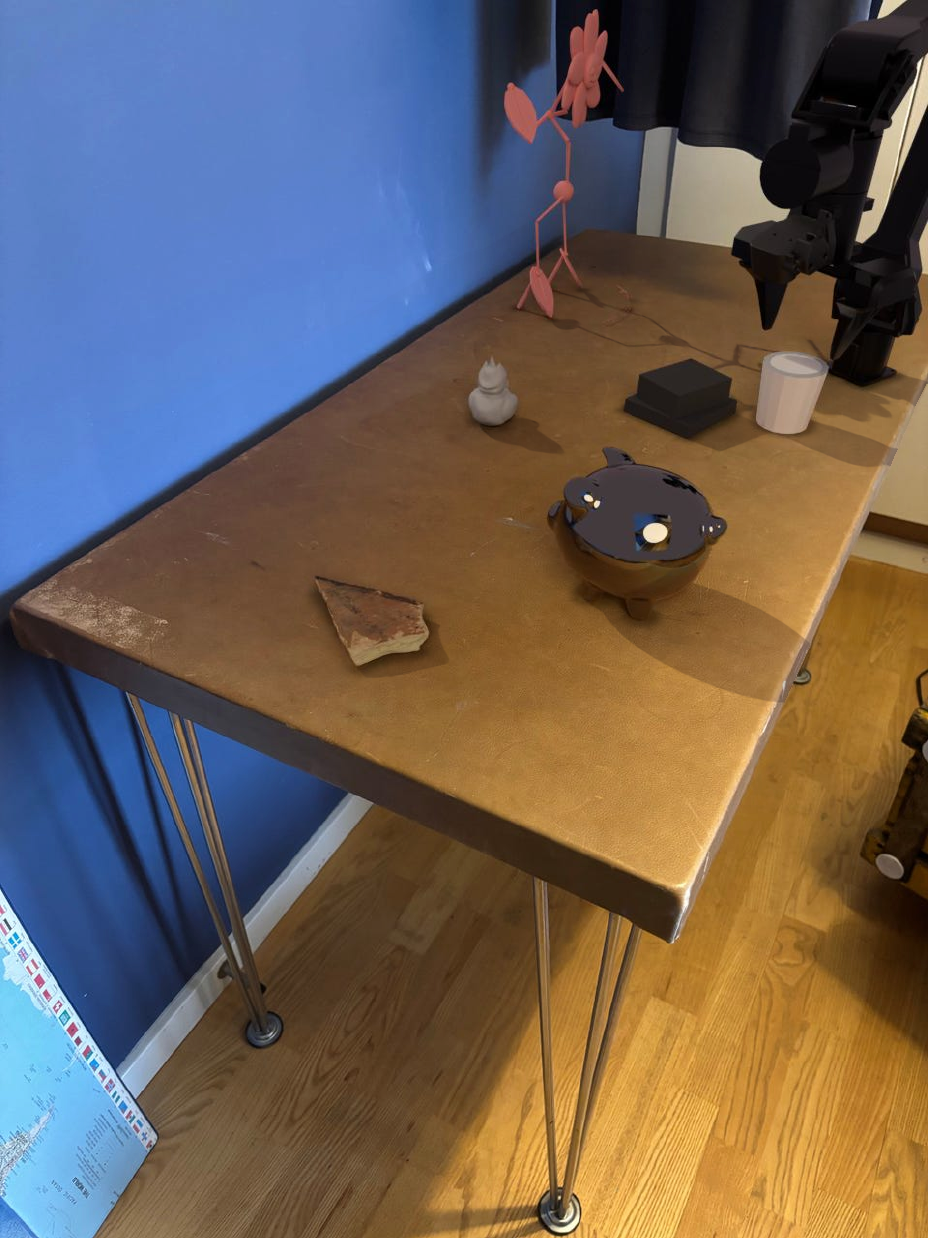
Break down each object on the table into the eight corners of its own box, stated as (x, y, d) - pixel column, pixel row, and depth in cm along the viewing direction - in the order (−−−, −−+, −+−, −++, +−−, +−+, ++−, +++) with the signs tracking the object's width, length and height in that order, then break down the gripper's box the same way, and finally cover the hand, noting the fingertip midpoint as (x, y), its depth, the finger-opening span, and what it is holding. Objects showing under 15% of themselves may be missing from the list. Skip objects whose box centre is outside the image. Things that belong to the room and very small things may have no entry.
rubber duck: (460, 428, 101) (459, 359, 96) (481, 403, 106) (482, 336, 101) (505, 437, 100) (508, 368, 95) (525, 411, 104) (528, 344, 99)
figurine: (484, 327, 123) (489, 20, 101) (562, 270, 141) (581, -3, 118) (589, 349, 118) (618, 29, 95) (657, 287, 135) (695, 4, 113)
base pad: (671, 387, 109) (673, 375, 108) (735, 413, 104) (738, 400, 103) (623, 411, 105) (625, 398, 103) (687, 439, 99) (689, 425, 98)
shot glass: (815, 439, 99) (832, 379, 95) (751, 433, 100) (764, 373, 96) (810, 411, 105) (826, 352, 100) (749, 405, 106) (761, 347, 101)
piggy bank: (575, 532, 86) (585, 421, 78) (729, 583, 79) (756, 468, 72) (516, 594, 78) (521, 478, 71) (681, 656, 72) (705, 536, 65)
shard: (316, 589, 79) (313, 572, 78) (400, 570, 81) (399, 554, 80) (348, 669, 71) (347, 651, 70) (441, 646, 73) (440, 628, 72)
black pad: (687, 380, 107) (691, 357, 105) (727, 401, 103) (732, 378, 101) (635, 397, 104) (638, 373, 102) (675, 419, 100) (679, 395, 98)
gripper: (705, 176, 90) (682, 330, 100) (861, 226, 77) (816, 395, 87) (785, 160, 94) (754, 309, 104) (943, 205, 82) (892, 368, 92)
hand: (799, 343), depth 97 cm, fingers open, 9 cm apart
